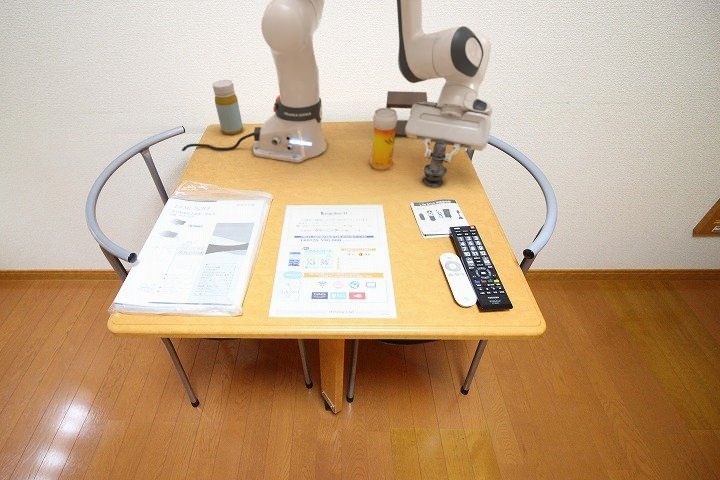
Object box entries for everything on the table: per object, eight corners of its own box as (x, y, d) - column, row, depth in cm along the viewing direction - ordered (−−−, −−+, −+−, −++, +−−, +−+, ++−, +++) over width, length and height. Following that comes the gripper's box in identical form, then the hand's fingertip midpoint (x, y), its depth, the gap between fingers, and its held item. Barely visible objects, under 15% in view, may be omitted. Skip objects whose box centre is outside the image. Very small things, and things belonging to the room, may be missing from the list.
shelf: (383, 135, 115) (386, 103, 108) (384, 122, 122) (387, 91, 115) (422, 137, 114) (427, 104, 106) (421, 123, 120) (426, 92, 113)
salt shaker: (444, 188, 94) (455, 144, 85) (421, 186, 95) (429, 143, 86) (443, 176, 98) (453, 133, 89) (421, 174, 99) (429, 132, 90)
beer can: (392, 170, 101) (399, 116, 90) (370, 170, 101) (374, 117, 90) (390, 159, 105) (396, 106, 94) (369, 159, 105) (372, 107, 94)
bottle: (217, 132, 121) (206, 85, 110) (231, 124, 125) (221, 78, 114) (233, 137, 118) (223, 89, 107) (247, 128, 122) (238, 81, 111)
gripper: (412, 93, 91) (395, 147, 92) (499, 106, 84) (479, 164, 85) (415, 105, 97) (399, 155, 98) (496, 118, 90) (477, 172, 91)
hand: (437, 160), depth 91 cm, fingers closed on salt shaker, 3 cm apart
